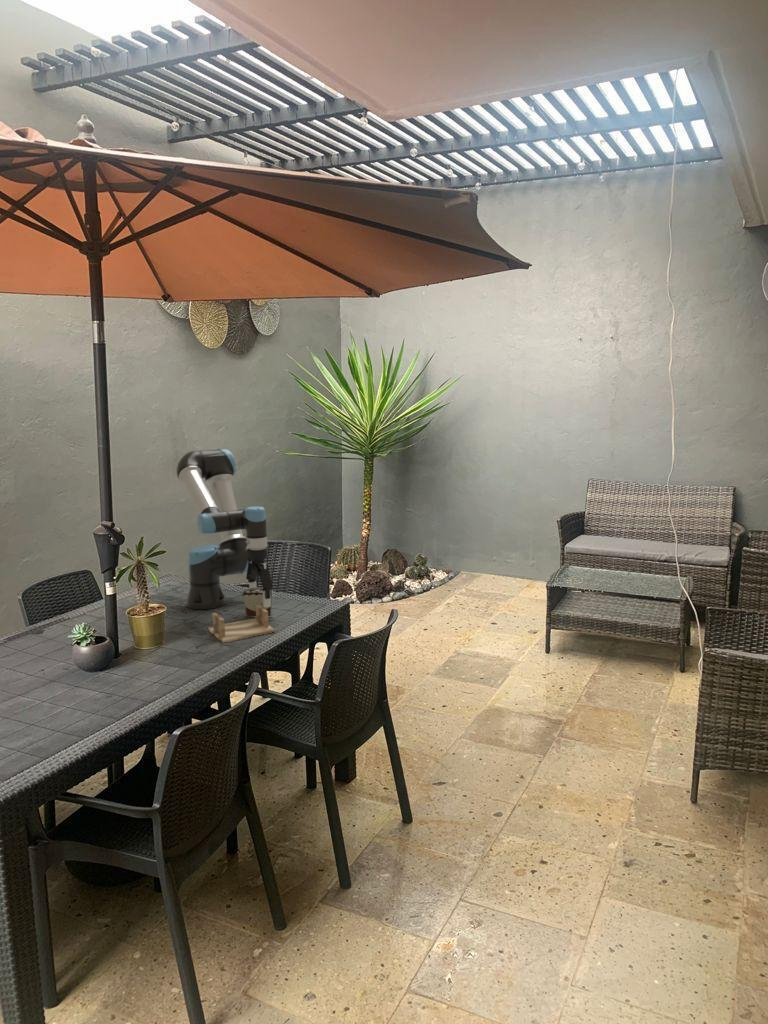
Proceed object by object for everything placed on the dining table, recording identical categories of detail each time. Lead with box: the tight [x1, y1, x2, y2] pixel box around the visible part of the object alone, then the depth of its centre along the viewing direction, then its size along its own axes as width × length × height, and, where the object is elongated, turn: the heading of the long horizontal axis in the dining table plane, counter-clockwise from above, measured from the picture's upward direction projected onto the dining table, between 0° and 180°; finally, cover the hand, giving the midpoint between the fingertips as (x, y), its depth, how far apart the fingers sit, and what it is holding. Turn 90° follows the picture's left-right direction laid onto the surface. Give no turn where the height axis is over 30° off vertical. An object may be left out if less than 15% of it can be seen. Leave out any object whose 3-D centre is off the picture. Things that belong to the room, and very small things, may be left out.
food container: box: [241, 586, 275, 617], centre depth 279 cm, size 12×6×10 cm, turn 84°
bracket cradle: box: [207, 605, 276, 644], centre depth 260 cm, size 16×19×7 cm
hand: (260, 602), depth 278 cm, fingers open, 13 cm apart
